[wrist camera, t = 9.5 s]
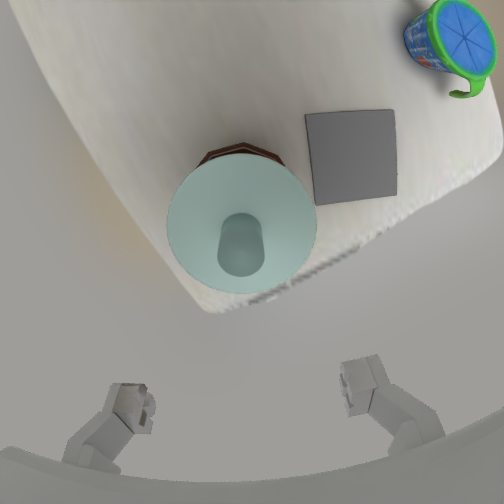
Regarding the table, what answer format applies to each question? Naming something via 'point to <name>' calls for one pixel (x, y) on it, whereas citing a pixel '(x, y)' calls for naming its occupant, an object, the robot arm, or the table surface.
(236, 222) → the lid
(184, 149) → the table surface
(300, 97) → the table surface
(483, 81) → the snack cup
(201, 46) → the table surface
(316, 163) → the mat
